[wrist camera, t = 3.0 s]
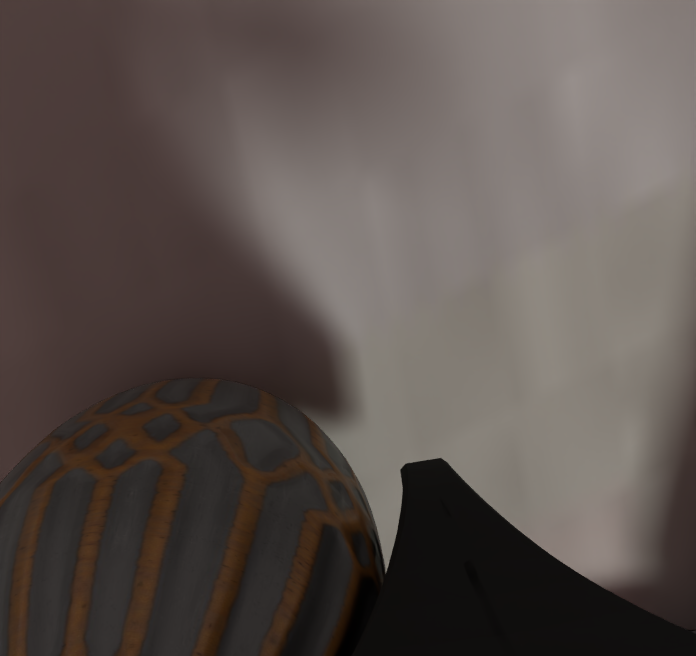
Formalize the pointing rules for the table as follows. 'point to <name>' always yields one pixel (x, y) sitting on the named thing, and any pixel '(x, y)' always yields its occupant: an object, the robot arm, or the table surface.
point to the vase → (186, 531)
